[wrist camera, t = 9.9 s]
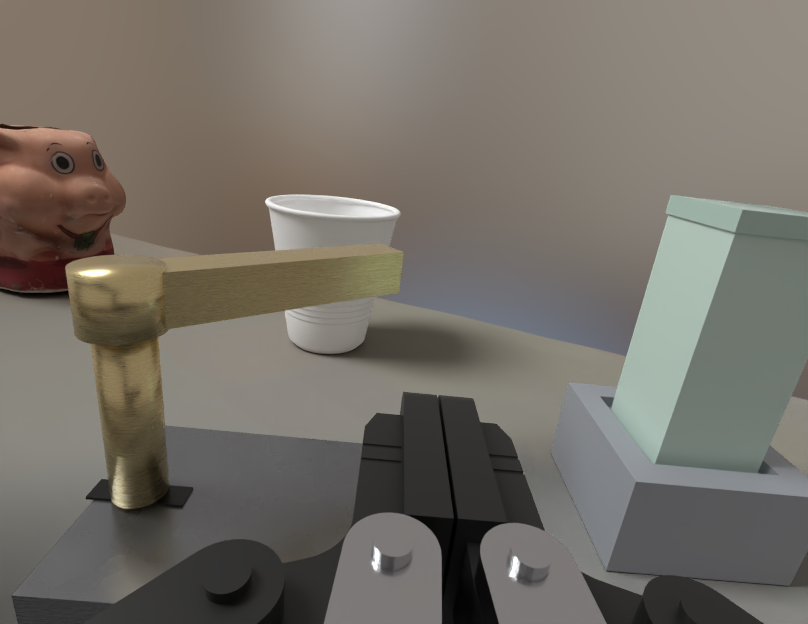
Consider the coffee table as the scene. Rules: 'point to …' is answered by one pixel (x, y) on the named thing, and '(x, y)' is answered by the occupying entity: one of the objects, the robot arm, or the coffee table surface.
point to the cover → (717, 335)
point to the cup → (327, 227)
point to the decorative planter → (52, 205)
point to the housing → (677, 503)
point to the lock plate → (197, 518)
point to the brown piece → (184, 306)
